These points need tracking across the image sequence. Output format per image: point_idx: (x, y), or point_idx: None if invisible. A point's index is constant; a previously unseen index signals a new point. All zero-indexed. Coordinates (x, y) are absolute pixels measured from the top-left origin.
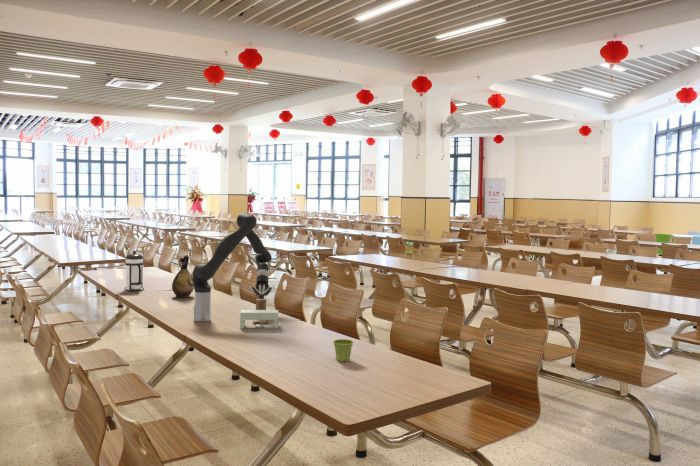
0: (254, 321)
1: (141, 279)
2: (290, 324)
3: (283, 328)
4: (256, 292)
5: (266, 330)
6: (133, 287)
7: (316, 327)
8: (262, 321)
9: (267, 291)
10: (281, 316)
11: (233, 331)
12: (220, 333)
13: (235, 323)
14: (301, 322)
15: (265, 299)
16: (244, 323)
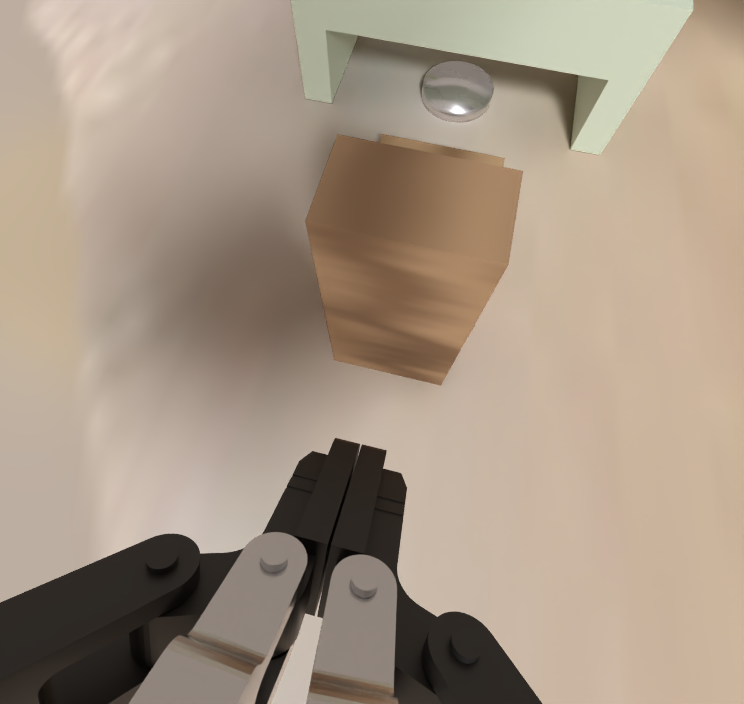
0: (491, 158)
1: None
2: (197, 107)
3: (294, 27)
4: (502, 668)
5: None
6: None
7: (59, 7)
8: (419, 145)
9: (66, 603)
10: (131, 421)
11: None
12: (730, 6)
13: (652, 226)
14: (76, 144)
15: (336, 177)
16: (583, 104)
